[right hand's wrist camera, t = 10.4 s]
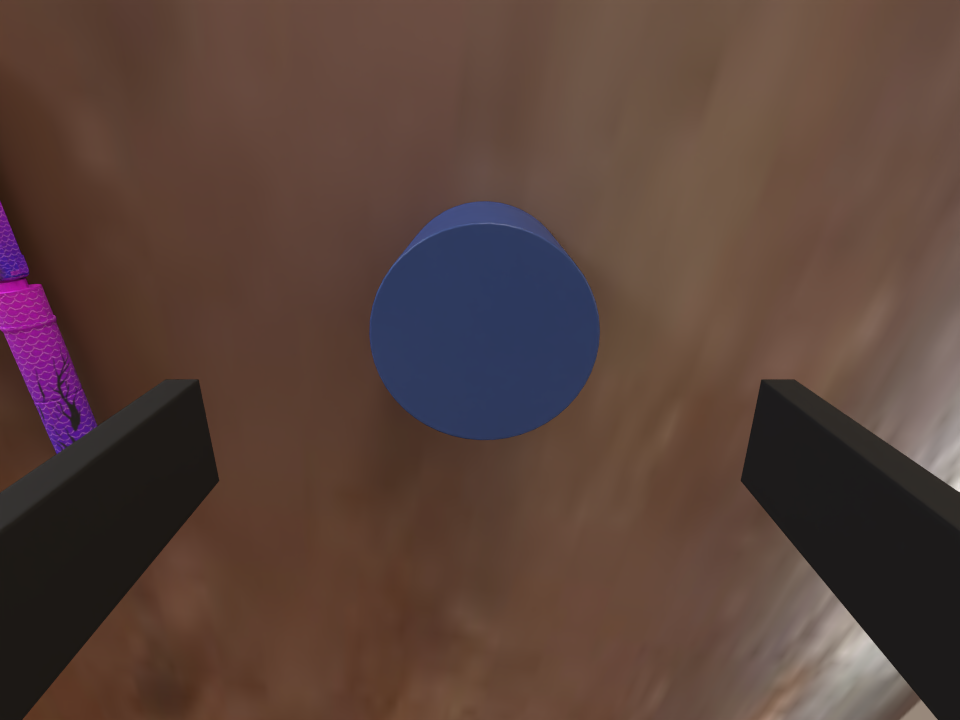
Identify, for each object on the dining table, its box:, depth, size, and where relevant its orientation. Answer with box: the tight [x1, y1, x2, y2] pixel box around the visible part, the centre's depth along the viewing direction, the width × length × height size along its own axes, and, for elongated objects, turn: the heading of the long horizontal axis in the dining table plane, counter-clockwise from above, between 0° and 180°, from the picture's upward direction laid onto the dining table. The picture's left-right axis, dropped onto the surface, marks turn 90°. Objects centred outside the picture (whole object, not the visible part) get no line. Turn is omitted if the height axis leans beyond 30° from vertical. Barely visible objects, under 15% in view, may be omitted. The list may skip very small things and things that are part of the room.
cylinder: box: [370, 202, 600, 440], centre depth 21 cm, size 8×8×7 cm
